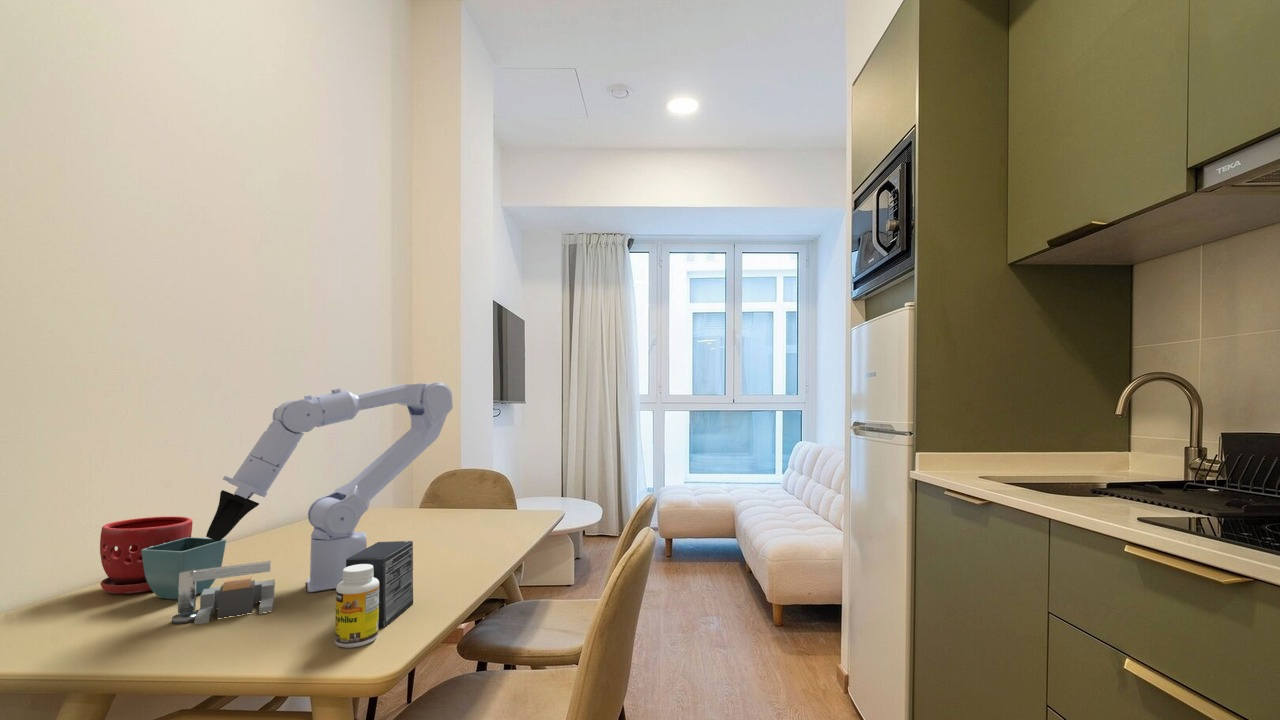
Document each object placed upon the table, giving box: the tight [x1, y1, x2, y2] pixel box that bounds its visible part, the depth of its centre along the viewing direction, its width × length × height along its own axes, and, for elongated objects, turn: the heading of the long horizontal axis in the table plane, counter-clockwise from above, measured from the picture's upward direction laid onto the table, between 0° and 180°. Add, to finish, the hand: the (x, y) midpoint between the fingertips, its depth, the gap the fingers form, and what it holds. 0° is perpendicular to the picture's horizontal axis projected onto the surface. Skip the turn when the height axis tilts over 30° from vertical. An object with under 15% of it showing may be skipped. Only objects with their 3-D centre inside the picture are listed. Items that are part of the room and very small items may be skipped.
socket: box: [194, 579, 276, 626], centre depth 96 cm, size 10×8×3 cm
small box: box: [346, 540, 414, 629], centre depth 93 cm, size 11×6×10 cm, turn 178°
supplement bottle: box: [334, 564, 379, 649], centre depth 83 cm, size 6×6×10 cm
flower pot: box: [141, 536, 227, 601], centre depth 103 cm, size 9×9×9 cm
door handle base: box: [171, 610, 199, 625], centre depth 91 cm, size 4×4×1 cm
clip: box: [177, 560, 272, 614], centre depth 94 cm, size 12×2×6 cm, turn 120°
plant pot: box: [99, 516, 193, 595], centre depth 109 cm, size 13×13×12 cm
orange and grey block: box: [217, 576, 256, 619], centre depth 95 cm, size 4×4×5 cm
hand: (214, 537), depth 96 cm, fingers open, 7 cm apart
